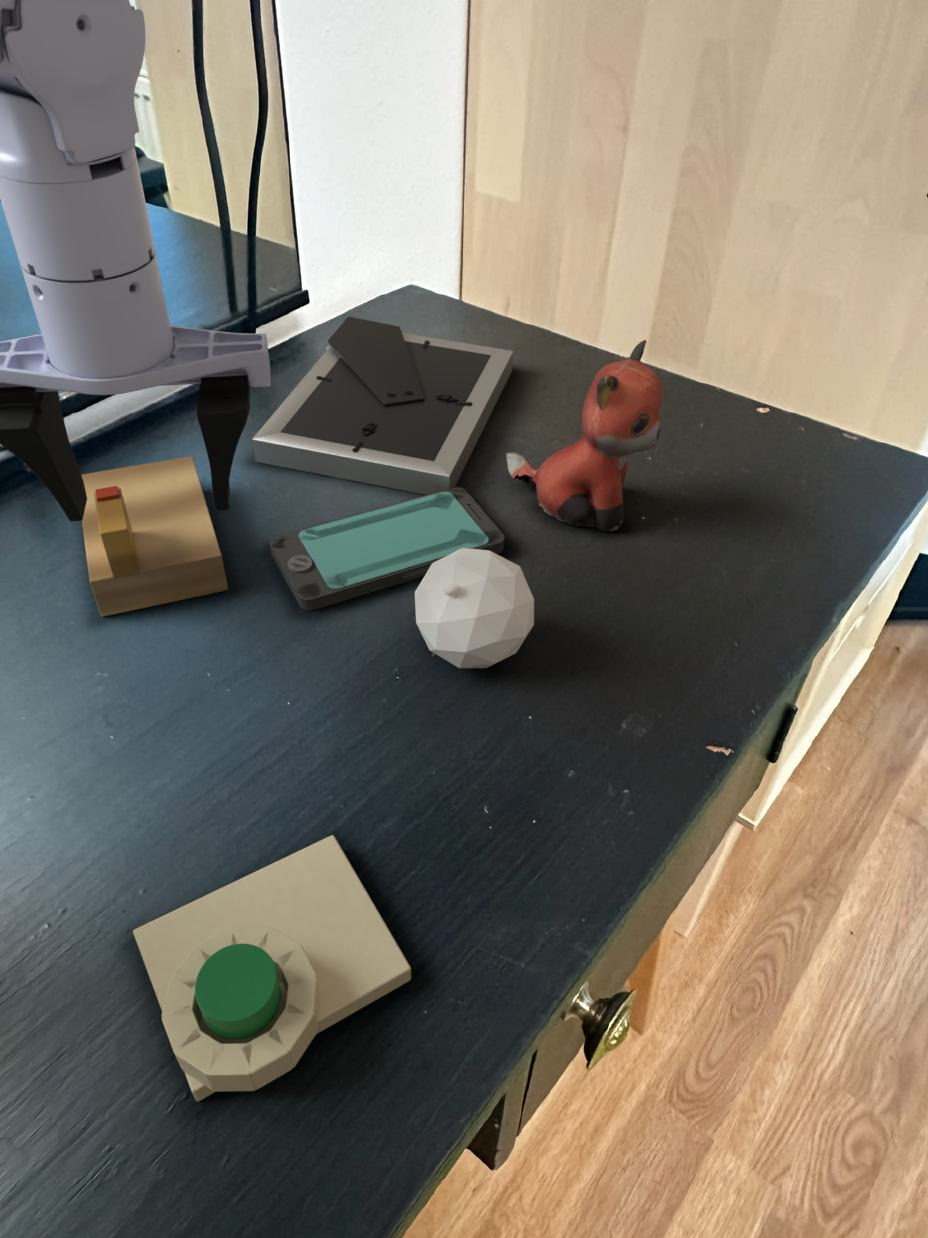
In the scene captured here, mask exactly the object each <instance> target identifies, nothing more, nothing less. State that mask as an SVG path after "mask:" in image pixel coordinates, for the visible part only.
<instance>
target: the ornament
mask: <svg viewBox="0 0 928 1238" xmlns="http://www.w3.org/2000/svg"><path fill="white" fill-rule="evenodd" d="M414 606H415V609H414V610H415V624H416V626H417V628H418V630H419V632H420V634H421V637H422V638H423V640H424V642H425V644H426V646H427V648H428V651H430V652H431V653H433V654H435V655H436V656H438V657H439V658H441V659H443V660H445V661H447V662H448V663H450V664H452V665H453V666H455V667H456V668H458V669H487V668H490V667H491V666H494V665H496V664H497V663H500V662H502V661H503V660H505V659H507V658H509V657H511V656H514V655H515V654H517V653H518V651H519V649H520V648H521V646H522V645H523V643H524V641H525V640H526V638H527V637H528V635H529V634H530V632H531V630H532V629H533V627H534V625H535V598H534V595H533V594H532V591H531V589H530V587H529V584H528V581H527V580H526V577H525V575H524V572H523V570H522V567H521V566H520V565H518V564H517V563H514V562H513V561H510V560H509V559H507V558H505V557H503V556H501V555H499V554H495V553H493V552H491V551H489V550H479V549H469V548H461V549H459V550H457V551H455V552H453V553H451V554H449V555H448V556H446V557H444V558H442V559H440V560H438V561H436V562H434V563H432V564H431V566H430V568H429V569H428V571H427V573H426V574H425V576H423V578H422V579H421V581H420V583H419V584H418V586H417V588H416V589H415V591H414Z"/></svg>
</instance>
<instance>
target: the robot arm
mask: <svg viewBox="0 0 928 1238" xmlns="http://www.w3.org/2000/svg"><path fill="white" fill-rule="evenodd" d="M144 15H145V14H144V11H143V10H142V9H139V8H137V9H136V8H135V6H134V5H132V4H131V2H130V0H0V203H1V206H2V210H3V212H4V213H3V214H4V216H5V219H6V222H7V226H8V229H9V232H10V236H11V238H12V242H13V245H14V248H15V252H16V255H17V259H18V261H19V265H20V269H21V272H22V275H23V278H24V281H25V286H26V289H27V291H28V295H29V298H30V301H31V305H32V307H33V311H34V314H35V317H36V320H37V321H36V322H37V325H38V327H39V331H40V333H39V334H34V335H33V334H32V335H28V336H24V337H17V338H12V339H8V340H1V341H0V445H1V446H3V447H4V448H5V449H6V450H7V451H9V452H10V453H11V454H12V455H14V456H15V457H16V458H17V459H19V460H20V461H21V462H22V463H23V464H24V465H25V466H26V467H27V468H28V469H29V470H30V471H31V472H32V473H33V475H35V476H36V477H37V478H38V480H40V482H41V483H42V484H43V485H44V487H46V489H47V491H48V492H49V493H50V494H51V496H52V497H53V498H54V500H55V501H56V502H57V504H58V505H59V507H60V508H61V510H62V512H63V513H64V514H65V516H66V517H67V519H68V521H69V522H82V520H83V516H84V511H85V507H86V502H87V495H86V490H85V486H84V482H83V479H82V476H81V475H82V473H81V471H80V467H79V465H78V461H77V459H76V457H75V454H74V451H73V449H72V446H71V442H70V439H69V434H68V432H67V427H66V423H65V418H64V415H63V409H62V404H61V400H60V395H59V392H67V393H75V394H82V395H91V396H113V395H122V394H123V395H124V394H127V393H133V392H134V393H135V392H138V391H142V390H146V389H147V390H148V389H151V388H157V387H163V386H164V387H165V386H166V387H167V386H185V385H186V386H187V385H198V393H197V404H196V418H197V421H198V425H199V428H200V432H201V436H202V439H203V442H204V446H205V451H206V454H207V459H208V463H209V469H210V477H211V487H212V499H213V504H214V507H215V511H216V512H221V511H229V510H230V507H231V506H230V505H231V485H230V479H231V478H230V477H231V472H232V467H233V461H234V457H235V454H236V451H237V448H238V444H239V441H240V439H241V436H242V434H243V432H244V429H245V428H246V425H247V421H248V418H249V414H250V408H251V388H270V387H271V386H272V375H271V374H272V373H271V371H272V369H271V362H270V361H271V360H270V353H269V346H268V345H269V344H268V336H267V333H265V332H263V333H261V332H259V333H258V332H257V333H247V332H246V333H244V332H231V331H220V330H212V329H203V328H197V327H196V328H194V327H187V326H178V325H171V323H170V318H169V317H170V316H169V313H168V308H167V302H166V298H165V293H164V287H163V283H162V278H161V273H160V267H159V262H158V257H157V253H156V248H155V242H154V237H153V233H152V227H151V223H150V218H149V213H148V208H147V203H146V198H145V193H144V188H143V183H142V177H141V173H140V168H139V163H138V159H137V152H136V137H135V136H136V134H138V133H140V128H139V123H138V122H139V121H138V117H137V112H136V111H137V110H136V106H135V92H136V86H137V83H138V79H139V77H140V75H141V70H142V67H143V63H144V59H145V58H144V57H145V50H146V22H145V16H144Z"/></svg>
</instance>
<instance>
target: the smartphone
mask: <svg viewBox="0 0 928 1238" xmlns="http://www.w3.org/2000/svg"><path fill="white" fill-rule="evenodd" d="M269 547H270V555H271V556H272V558H273V560H274V561H275V564H276V566H277V567H278V569H279V571H280V573H281V574H282V576H283V578H284V580H285V582H286V584H287V586H288V587H289V589H290V592H292V595H293V597H294V599H295V600H296V603H297V605H298V606H299V607H300V609H301V610H304V611H307V612H309V611H312V612H313V611H315V610H318V609H321V608H325V607H328V606H331V605H335V604H338V603H342V602H345V601H348V600H351V599H354V598H357V597H361V596H364V595H367V594H371V593H374V592H377V591H380V590H384V589H387V588H390V587H393V586H396V585H400V584H404V583H406V582H410V581H413V580H416V579H419V578H422V577H423V578H424V576H425V574H426V573H427V571H428V569H429V568H430V566H431V564H432V563H434V562H436V561H438V560H440V559H442V558H444V557H446V556H448V555H449V554H451V553H453V552H455V551H457V550H459V549H461V548H469V549H479V550H489V551H491V552H493V553H495V554H497V555H499V554H501V553H502V552H503V551H504V548H505V535H504V533H502V531H501V530H500V528H499V527H498V526H497V525H496V524H495V523H494V522H493V520H492V519H491V518H490V517H489V516H488V515H487V514H486V512H485V511H484V510H483V509H482V508H481V506H480V505H479V503H477V501H475V500H474V498H473V497H472V496H471V495H470V494H469V493H468V491H467V490H466V489H465V488H463V487H459V486H455V487H454V488H450V489H447V490H443V491H439V492H436V493H432V494H428V495H422V496H419V497H418V496H417V497H414V498H411V499H406V500H403V501H399V502H396V503H391V504H389V505H385V506H381V507H377V508H373V509H369V510H366V511H363V512H359V513H355V514H352V515H348V516H344V517H340V518H337V519H333V520H329V521H326V522H322V523H319V524H315V525H310V526H308V527H304V528H301V529H297V530H293V531H289V532H286V533H281V534H278V535H274V536H273V537H271V539H270V540H269Z"/></svg>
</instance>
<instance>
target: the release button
mask: <svg viewBox="0 0 928 1238" xmlns="http://www.w3.org/2000/svg"><path fill="white" fill-rule="evenodd" d="M195 995H196V1000H197V1003H198V1005H199V1008H200V1010H201V1013H202V1015H203V1018H204V1020H205V1022H206V1024H207V1026H208V1027H209V1028H210V1029H211V1030H212V1031H213V1032H214V1033H215V1034H217V1035H218V1036H220V1037H223V1038H226V1039H234V1040H237V1039H244V1038H248V1037H251V1036H253V1035H255V1034H257V1033H259V1032H260V1031H262V1030H263V1029H264V1028H265V1027H267V1026H268V1024H269V1023H270V1022H271V1021H272V1020H273V1018H274V1017H275V1015H276V1013H277V1011H278V1009H279V1006H280V1001H281V988H280V983H279V979H278V975H277V971H276V967H275V964H274V962H273V960H272V958H271V957H270V956H269V954H268V953H267V952H266V951H264V950H263V949H261V948H259V947H257V946H254V945H251V944H234V945H230V946H227V947H224V948H222V949H220V950H219V951H217V952H216V953H214V954H213V955H212V956H211V957H209V958H208V960H207V961H206V962H205V963H204V964H203V966H202V967H201V969H200V971H199V973H198V976H197V979H196V983H195Z"/></svg>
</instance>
